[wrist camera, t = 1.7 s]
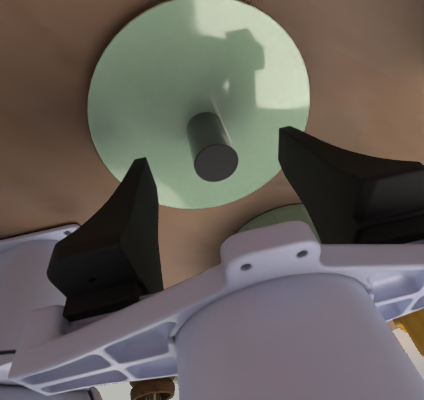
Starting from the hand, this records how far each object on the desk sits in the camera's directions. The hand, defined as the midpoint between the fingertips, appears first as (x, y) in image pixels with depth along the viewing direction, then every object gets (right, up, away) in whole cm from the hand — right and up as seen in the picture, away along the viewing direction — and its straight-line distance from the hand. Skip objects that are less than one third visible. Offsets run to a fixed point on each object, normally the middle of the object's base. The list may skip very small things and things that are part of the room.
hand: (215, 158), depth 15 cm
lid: (-1, +2, +3) cm, 4 cm away
